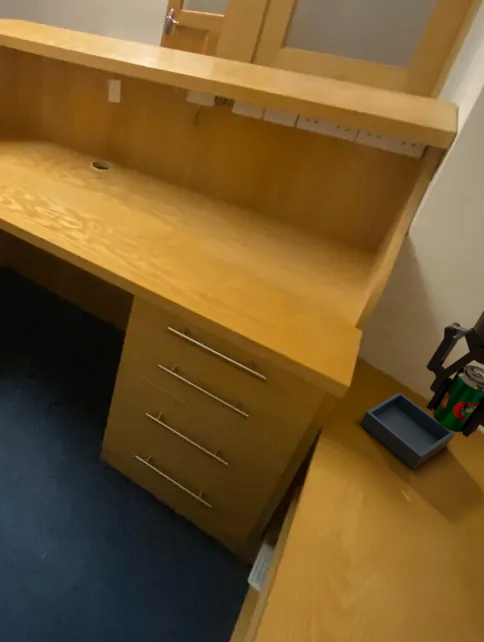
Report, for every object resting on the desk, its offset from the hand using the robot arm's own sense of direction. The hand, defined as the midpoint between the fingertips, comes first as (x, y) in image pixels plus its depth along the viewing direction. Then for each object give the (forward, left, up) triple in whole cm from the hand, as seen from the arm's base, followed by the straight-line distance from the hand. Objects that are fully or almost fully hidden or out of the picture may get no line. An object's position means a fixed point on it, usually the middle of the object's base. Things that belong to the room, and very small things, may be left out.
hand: (450, 418), depth 88 cm
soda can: (0, 0, -1) cm, 1 cm away
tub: (+6, -8, -18) cm, 21 cm away
